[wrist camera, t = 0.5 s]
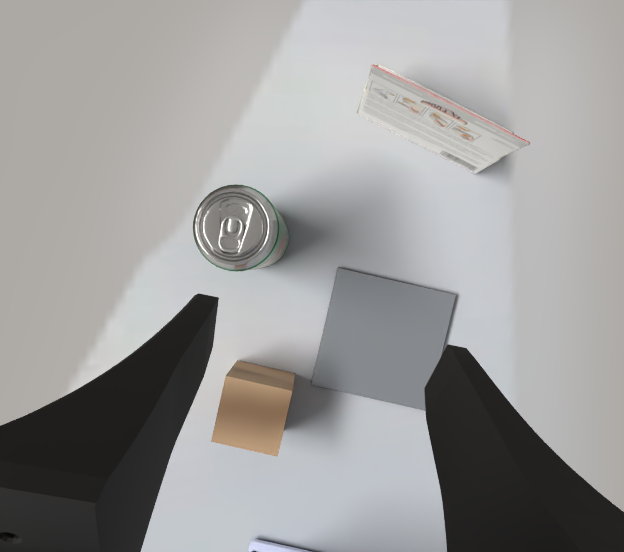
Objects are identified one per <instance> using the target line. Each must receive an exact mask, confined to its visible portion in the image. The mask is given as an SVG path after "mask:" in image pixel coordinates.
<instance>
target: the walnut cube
mask: <svg viewBox="0 0 624 552" xmlns="http://www.w3.org/2000/svg"><path fill="white" fill-rule="evenodd" d="M294 378H295V373H291V372H286V371H282V370H277V369H273V368H269V367H264V366H260V365H255V364H251V363H247V362H242V361H238V360H237V362H236V363H235V364H234V366H233V367H232V368H231V370H230V371H229V372H228V374H227V375H226V378H225V382H224V386H223V391H222V395H221V400H220V404H219V409H218V413H217V418H216V422H215V427H214V431H213V436H212V440H211V442H216V443H220V444H225V445H229V446H233V447H238V448H242V449H247V450H251V451H255V452H260V453H264V454H269V455H273V456H278V452H279V448H280V443H281V439H282V435H283V430H284V426H285V422H286V417H287V413H288V409H289V404H290V400H291V395H292V391H293V385H294Z"/></svg>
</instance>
